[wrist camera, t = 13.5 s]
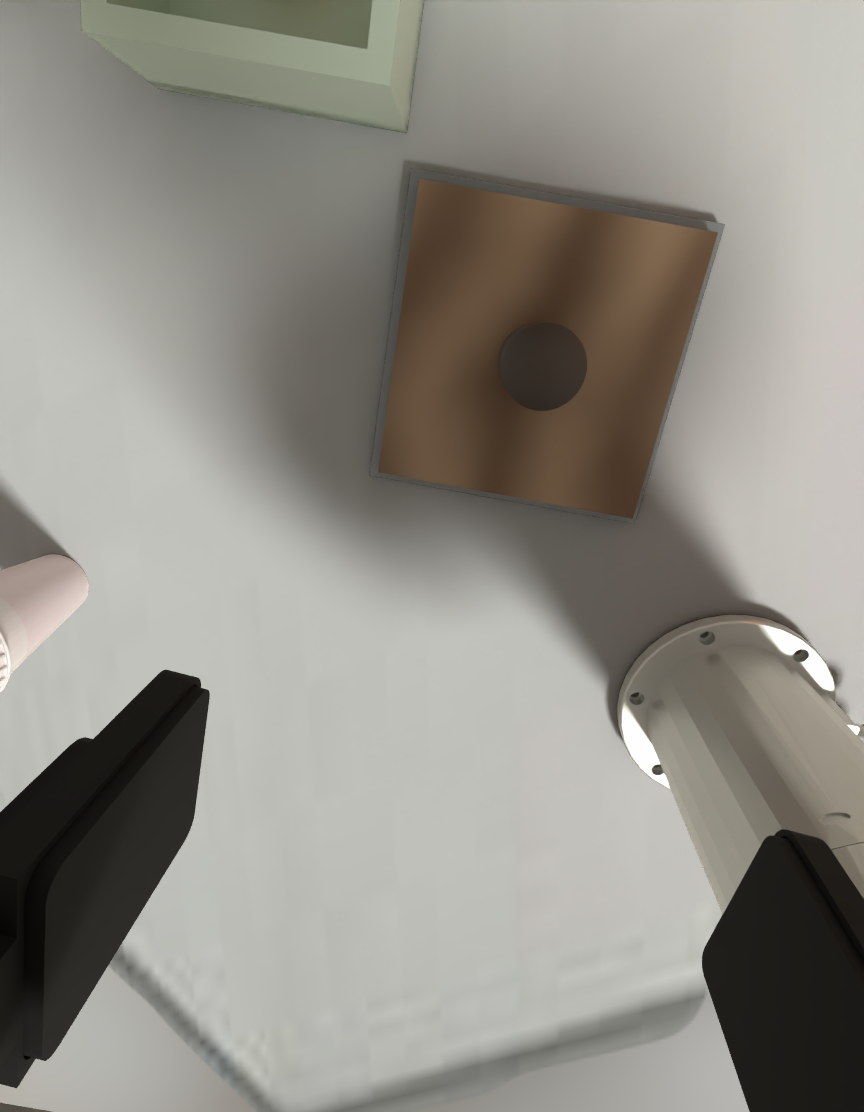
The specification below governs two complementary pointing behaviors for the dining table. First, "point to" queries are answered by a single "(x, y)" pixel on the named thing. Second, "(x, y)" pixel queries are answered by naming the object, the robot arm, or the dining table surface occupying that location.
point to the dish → (272, 52)
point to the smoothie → (36, 605)
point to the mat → (535, 195)
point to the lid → (538, 346)
